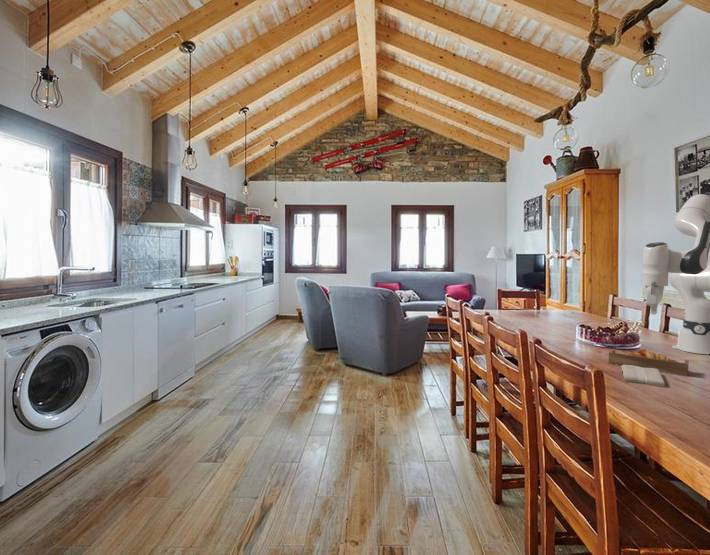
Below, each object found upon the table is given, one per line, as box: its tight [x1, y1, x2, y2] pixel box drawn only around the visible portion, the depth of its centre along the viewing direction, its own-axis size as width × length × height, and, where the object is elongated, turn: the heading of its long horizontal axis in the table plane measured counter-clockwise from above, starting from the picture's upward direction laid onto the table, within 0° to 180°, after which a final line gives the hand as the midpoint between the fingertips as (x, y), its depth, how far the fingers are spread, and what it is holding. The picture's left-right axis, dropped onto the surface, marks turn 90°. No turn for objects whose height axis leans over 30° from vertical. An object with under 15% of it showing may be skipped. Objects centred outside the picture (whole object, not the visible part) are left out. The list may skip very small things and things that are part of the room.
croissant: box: [625, 349, 678, 362], centre depth 153 cm, size 21×10×8 cm, turn 58°
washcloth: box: [620, 365, 666, 388], centre depth 139 cm, size 12×18×3 cm, turn 148°
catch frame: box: [608, 348, 690, 377], centre depth 152 cm, size 8×24×4 cm, turn 47°
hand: (653, 313), depth 161 cm, fingers closed
